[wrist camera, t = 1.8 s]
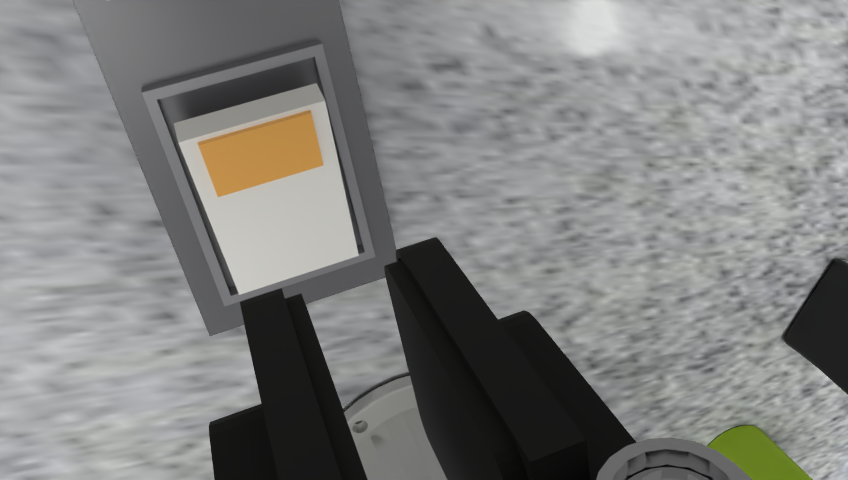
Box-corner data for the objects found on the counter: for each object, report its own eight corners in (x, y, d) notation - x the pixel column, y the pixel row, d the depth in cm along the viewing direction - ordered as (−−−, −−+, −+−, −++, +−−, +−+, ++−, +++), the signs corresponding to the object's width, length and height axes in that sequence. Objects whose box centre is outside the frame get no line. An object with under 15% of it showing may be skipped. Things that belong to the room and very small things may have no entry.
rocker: (351, 237, 34) (360, 258, 33) (234, 275, 33) (240, 298, 32) (316, 83, 28) (326, 103, 27) (173, 123, 27) (179, 145, 26)
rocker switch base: (381, 238, 39) (405, 279, 35) (203, 295, 37) (211, 345, 33) (220, -429, 25) (233, -471, 22) (-69, -386, 24) (-104, -423, 20)
